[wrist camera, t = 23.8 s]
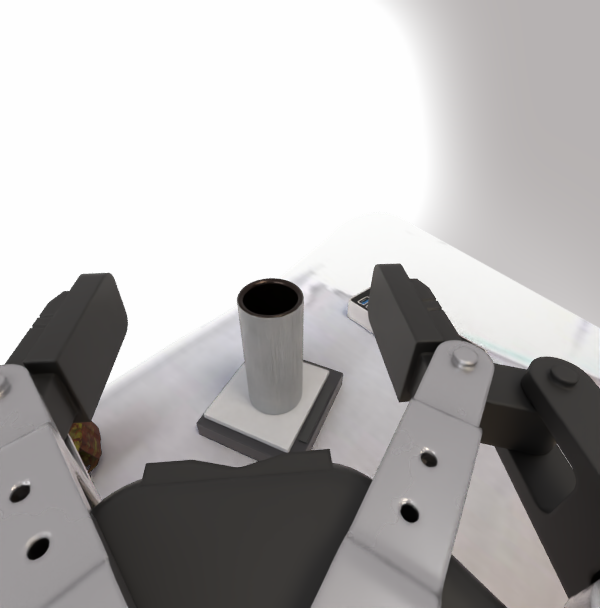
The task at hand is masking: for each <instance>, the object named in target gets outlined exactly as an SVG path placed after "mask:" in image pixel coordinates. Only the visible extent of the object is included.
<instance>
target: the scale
mask: <svg viewBox="0 0 600 608" xmlns="http://www.w3.org/2000/svg"><path fill="white" fill-rule="evenodd" d="M342 377H343V373H341V372H338V371H335V370H332V369H329V368H326V367H323V366H320V365H317V364H314V363H311V362H308V361H305V360H303V389H302V397H301V400H300V402H299V403H298V405H297V406H296V407H295V408H293V409H292V410H290V411H288V412H286V413H283V414H277V415H272V414H266V413H263V412H261V411H259V410H258V409H256V408H255V407H254V406H253V404H252V403H251V400H250V397H249V392H248V384H247V376H246V368H245V362H244V363H243V364H242V365H241V367H240V368H239V369H238V371H237V372H236V373H235V374H234V376H233V377H232V378H231V380H230V381H229V382H228V383H227V385H226V386H225V387H224V388H223V390H222V391H221V392H220V394H219V395H218V396H217V397H216V399H215V400H214V401H213V403H212V404H211V405H210V406H209V408H208V409H207V410H206V412H205V413H204V414H203V415H202V417H201V418H200V419H199V420H198V422H197V427H198V430H199V434H200V435H202V436H205V437H207V438H209V439H211V440H213V441H216V442H218V443H220V444H222V445H225V446H227V447H229V448H231V449H233V450H236V451H238V452H240V453H242V454H244V455H247V456H249V457H251V458H253V459H255V460H258V461H262V460H265V459H268V458H271V457H274V456H277V455H280V454H283V453H286V452H299V451H311V449H312V447H313V445H314V442H315V440H316V438H317V436H318V434H319V432H320V430H321V427H322V425H323V423H324V421H325V419H326V417H327V415H328V412H329V410H330V408H331V406H332V404H333V402H334V400H335V398H336V395H337V393H338V391H339V389H340V387H341V385H342Z"/></svg>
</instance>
